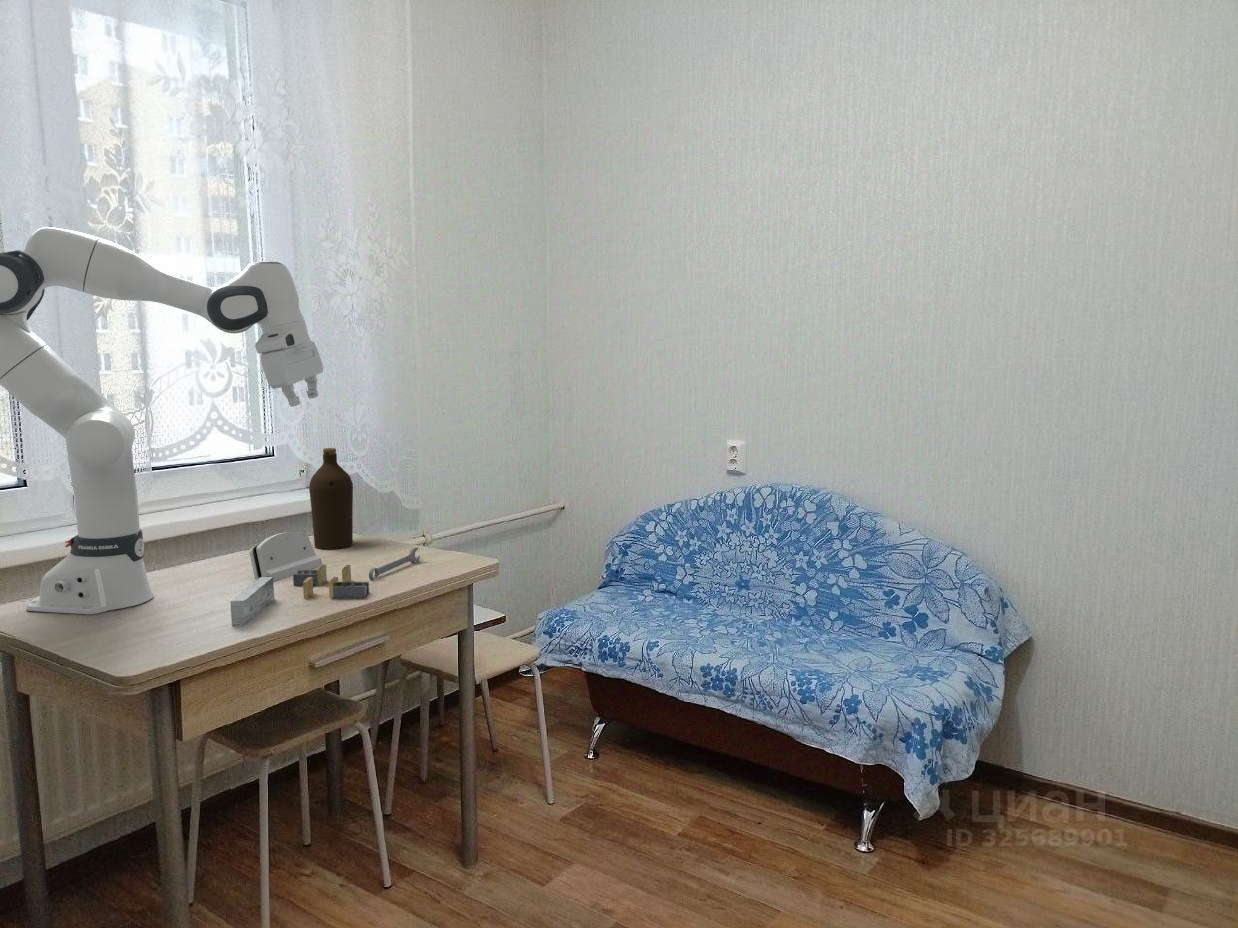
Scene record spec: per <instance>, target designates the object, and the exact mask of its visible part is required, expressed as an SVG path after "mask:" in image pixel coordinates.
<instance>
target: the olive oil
mask: <svg viewBox="0 0 1238 928" xmlns="http://www.w3.org/2000/svg"><path fill="white" fill-rule="evenodd" d="M322 452H323V453H322V461H323V462H322V465H321V466H320V467H319V468H318V470H316V472H315V473H314V474H313V476H312V477H311V479H310V481H309V487H308V488H309V490H308V491H309V499H310V508H311V509H310V510H311V519H312V524H311V525H312V529H313V531H312V532H313V533H312V534H313V543H314V547H315V548H316V549H320V550H338V549H344V548H345V549H346V548H349V547H351V546H353V541H354V539H353V535H354V532H353V523H354V522H353V520H354V519H353V514H354V513H353V512H354V511H353V506H354V505H353V500H354V485H353V484H354V483H353V480H352V478H351V476H350V475H349V474H348V472H347V471H346V470H345V469H343V467H341V466H340V464H339V463H338V460H337V459H338V458H337V457H338V453H337V448H335V447H327V448H325V447H324V448H323V449H322Z"/></svg>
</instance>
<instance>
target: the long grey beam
mask: <svg viewBox="0 0 1238 928" xmlns="http://www.w3.org/2000/svg"><path fill="white" fill-rule="evenodd" d="M274 601H275V588H274V581H273V577H269V576H267V577H260V578H259V579H257V580H255V581H254V582H253V583H252V584H250V585H249V586H248V587H246V588H245V589H244V590H243V591H241V592H240V593H239V594H237V595H236V596H235V597H234V598H232V599H230V601H229V602H230V616H231V617H230V618H231V627H237V626H236V625H238V626H239V625H241V626H242V627H243V626H244V627H245V625H246V624H247V625H248V624H249V623H250V622H252V620H253V619H255V618H256V617H257V616H258V615H259V614H260V613H261V612H262V611H263V610H264V609H266V608H267V607H268V606H269V605H270V604H271V603H272V602H274ZM247 625H246V626H247ZM241 626H239V627H241Z"/></svg>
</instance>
